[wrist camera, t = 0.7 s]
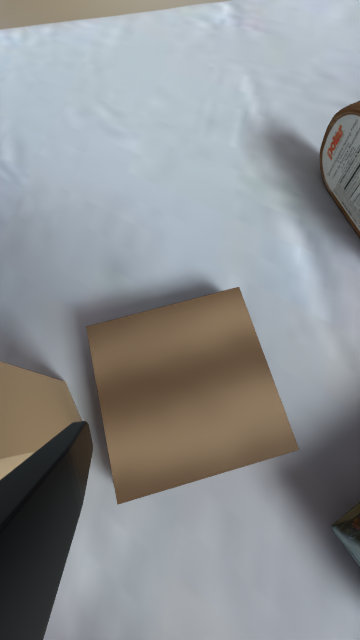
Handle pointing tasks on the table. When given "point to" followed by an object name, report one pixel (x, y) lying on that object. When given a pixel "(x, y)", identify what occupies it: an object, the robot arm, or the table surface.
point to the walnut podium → (185, 394)
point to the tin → (343, 162)
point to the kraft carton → (30, 413)
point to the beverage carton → (350, 532)
